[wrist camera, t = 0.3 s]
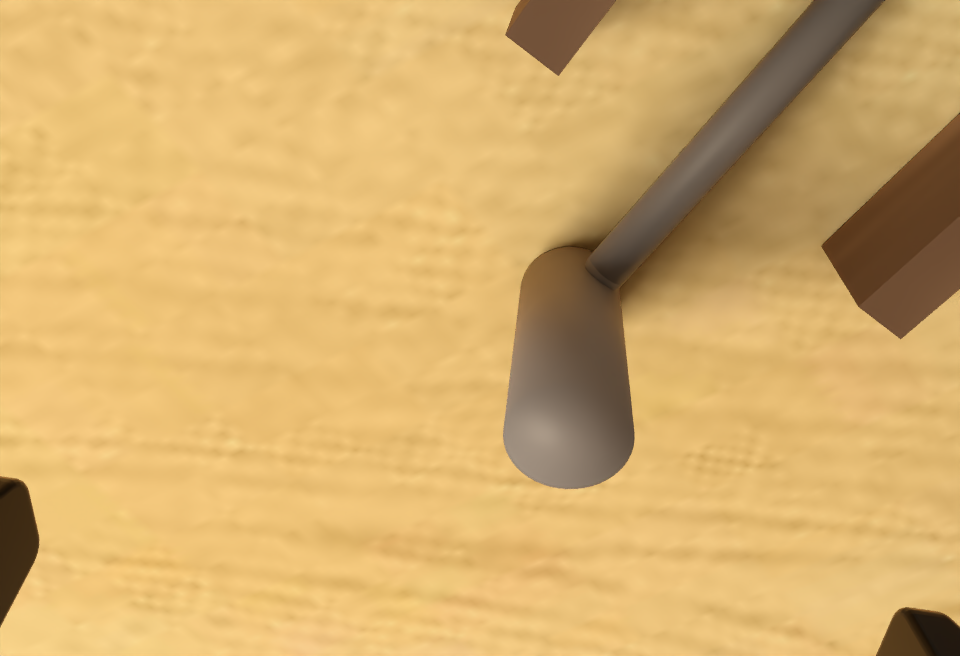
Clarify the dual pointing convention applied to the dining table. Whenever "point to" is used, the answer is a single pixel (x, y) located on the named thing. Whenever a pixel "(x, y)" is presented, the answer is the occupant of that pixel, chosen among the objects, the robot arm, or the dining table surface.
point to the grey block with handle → (599, 274)
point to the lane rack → (869, 232)
